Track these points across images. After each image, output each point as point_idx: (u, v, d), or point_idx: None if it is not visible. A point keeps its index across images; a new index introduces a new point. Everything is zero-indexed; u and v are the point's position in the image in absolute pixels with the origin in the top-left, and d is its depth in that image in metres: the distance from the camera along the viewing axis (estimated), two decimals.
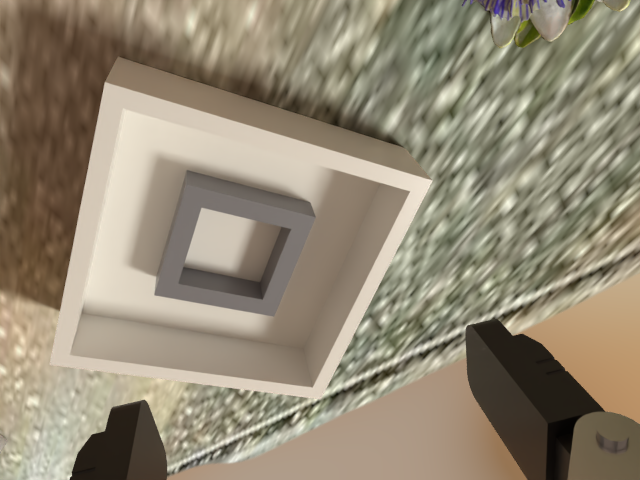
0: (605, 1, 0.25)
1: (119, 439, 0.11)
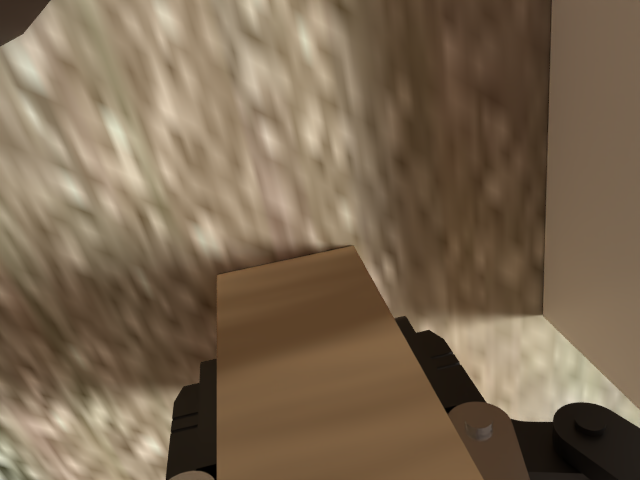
0: None
1: (215, 387, 0.12)
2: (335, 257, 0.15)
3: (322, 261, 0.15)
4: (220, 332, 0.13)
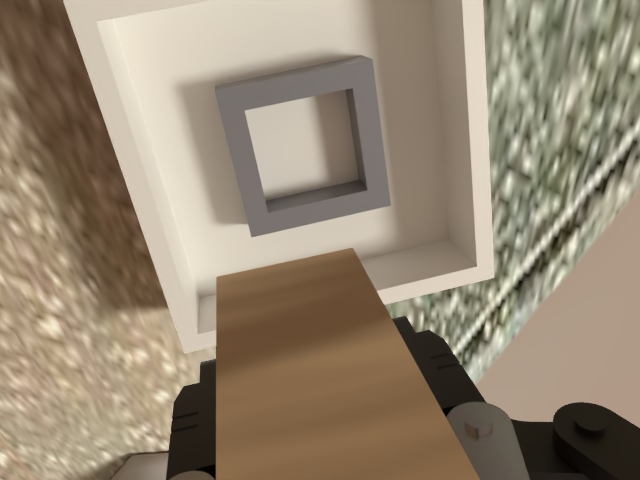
0: None
1: (215, 387, 0.12)
2: (334, 259, 0.15)
3: (321, 263, 0.15)
4: (219, 334, 0.13)
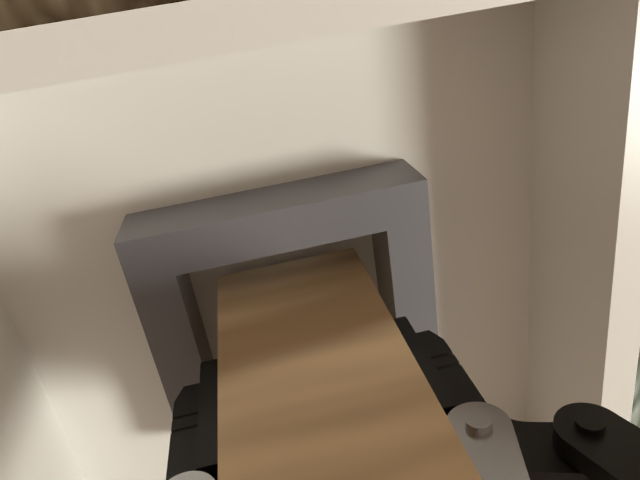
0: None
1: (215, 387, 0.12)
2: (335, 259, 0.15)
3: (322, 263, 0.15)
4: (221, 334, 0.13)
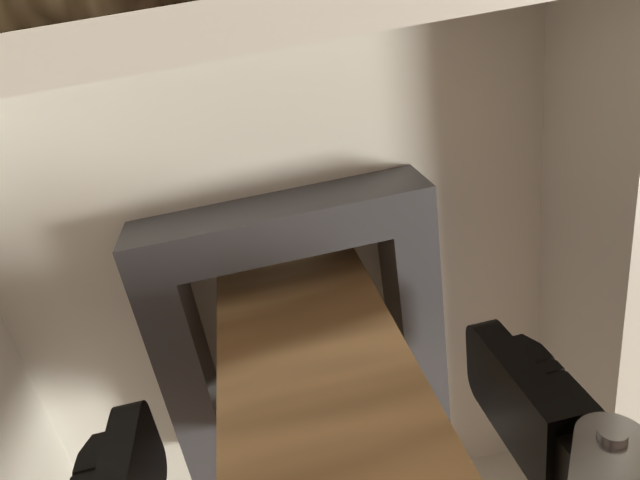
0: None
1: (119, 439, 0.11)
2: (333, 254, 0.16)
3: (320, 258, 0.15)
4: (220, 327, 0.13)
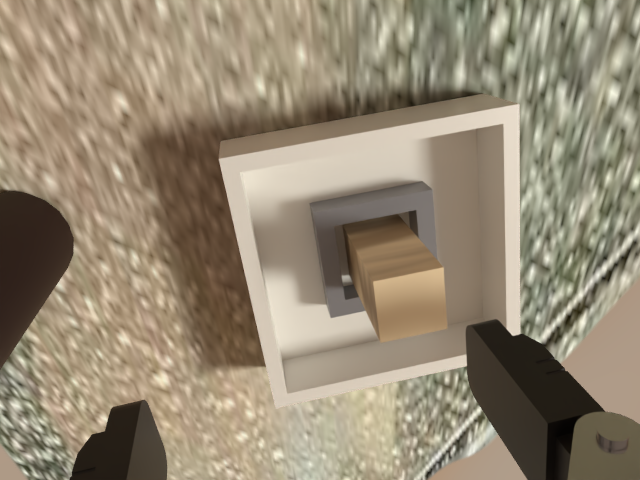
0: None
1: (119, 439, 0.11)
2: (390, 217, 0.38)
3: (385, 219, 0.38)
4: (352, 240, 0.35)
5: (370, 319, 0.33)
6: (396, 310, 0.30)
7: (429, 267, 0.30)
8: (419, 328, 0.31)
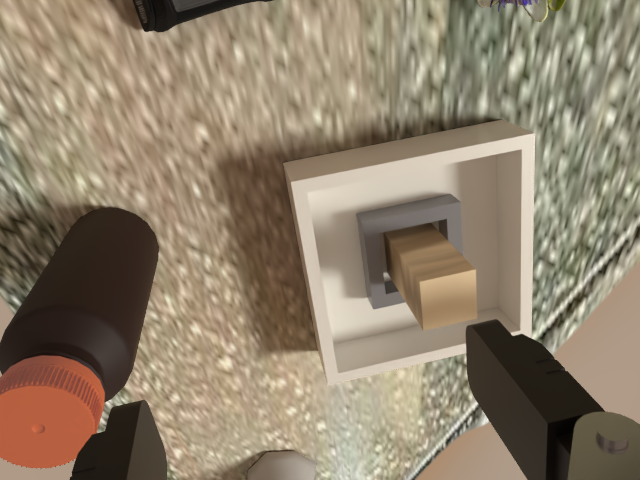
0: None
1: (119, 439, 0.11)
2: (423, 224, 0.45)
3: (419, 226, 0.45)
4: (394, 245, 0.42)
5: (412, 311, 0.40)
6: (436, 304, 0.38)
7: (463, 269, 0.37)
8: (455, 318, 0.38)
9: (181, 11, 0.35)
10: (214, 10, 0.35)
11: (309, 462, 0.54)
